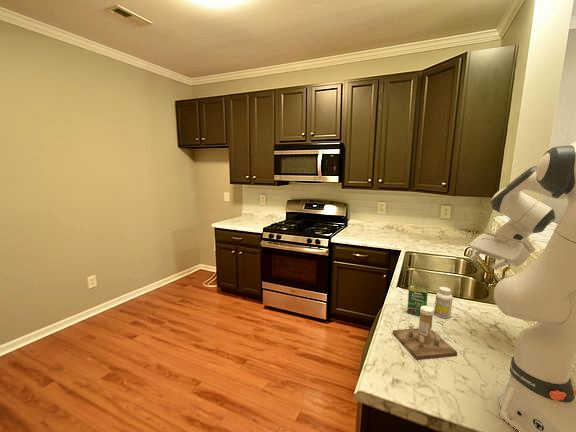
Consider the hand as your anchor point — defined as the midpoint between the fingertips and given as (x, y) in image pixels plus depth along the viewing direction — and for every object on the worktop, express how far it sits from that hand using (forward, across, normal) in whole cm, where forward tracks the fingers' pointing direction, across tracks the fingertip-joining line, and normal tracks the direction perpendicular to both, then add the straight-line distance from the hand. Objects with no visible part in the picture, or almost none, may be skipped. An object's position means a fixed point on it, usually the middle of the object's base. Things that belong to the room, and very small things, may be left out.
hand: (482, 264), depth 106 cm
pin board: (+37, 0, +7) cm, 38 cm away
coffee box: (+30, -21, +15) cm, 39 cm away
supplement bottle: (+21, -19, +24) cm, 37 cm away
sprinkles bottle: (+36, 0, +6) cm, 37 cm away
